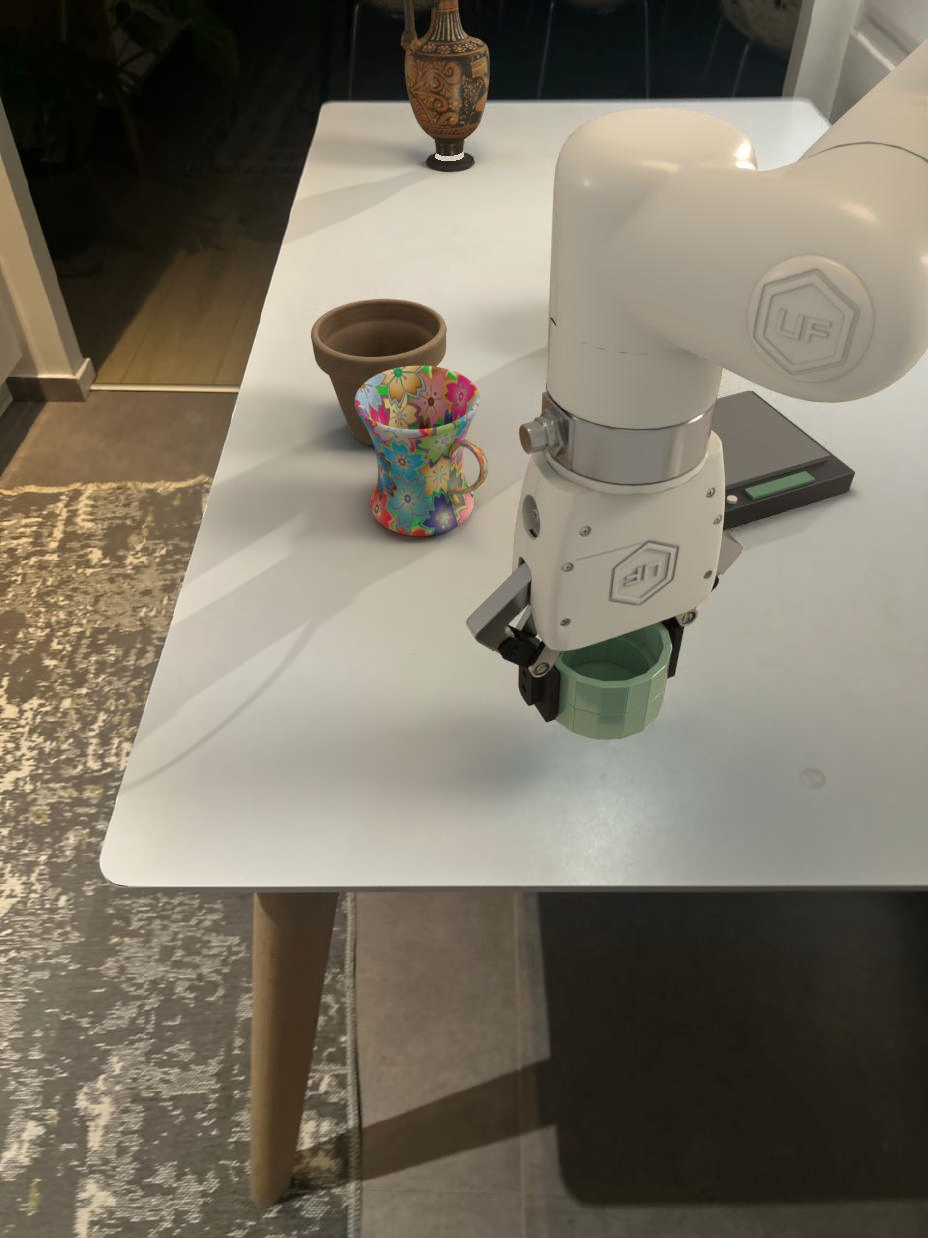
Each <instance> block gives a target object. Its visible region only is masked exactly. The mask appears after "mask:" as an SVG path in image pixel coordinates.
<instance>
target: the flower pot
mask: <svg viewBox="0 0 928 1238" xmlns="http://www.w3.org/2000/svg"><path fill="white" fill-rule="evenodd" d="M447 329H448V328H447V324H446V321H445V319H444V318H443V316H442V315H441V314H440V313H439V312H438V311H436V310H435V309H433V308H432V307H430V306H427V305H425V304H422V303H418V302H416V301H411V300H406V299H404V300H403V299H397V298H371V299H363V300H357V301H353V302H349V303H345V304H342V305H340V306H337V307H334V308H332V309H330V310H329V311H326V312H325V313H324V314H322V315H321V316H319V318H317V319H316V321H315V322H314V323H313V325H312V327H311V330H310V340H311V344H312V349H313V356H314V361H315V363H316V365H317V367H318V368H319V369H320V370H321V371H322V372H323V373H325V374H326V375H328V377H329V380H330V382H331V384H332V387H333V390H334V393H335V396H336V398H337V401H338V404H339V407H340V409H341V411H342V414H343V416H344V419H345V421H346V424H347V426H348V428H349V430H350V432H351V435H352V436H353V437H354V438H355V439H356V440H357V441H358V442H360V443H362V444H364V445H367V446H370V447H374V444H373V441H372V438H371V436H370V434H369V432H368V430H367V428H366V426H365V424H364V423H363V421H362V419H361V418H360V416H359V415H358V413H357V411H356V409H355V396H356V393H357V391H358V390H359V388H360V387H361V386H362V385H363V384H364V383H365V382H366V381H367V380H369V379H370V378H372V377H374V376H376V375H377V374H380V373H382V372H385V371H388V370H391V369H395V368H400V367H407V366H434V367H439V365H440V363H442V361H443V360H444V358H445V356H446V352H447V331H448V330H447Z"/></svg>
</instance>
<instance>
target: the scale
mask: <svg viewBox="0 0 928 1238" xmlns="http://www.w3.org/2000/svg"><path fill="white" fill-rule="evenodd" d="M711 430H712V431H713V432H715V433H716V434H717V435H718V437H719V438H720V440H721V442H722V449H723V460H724V472H725V508H724V522H723V530H724V531H726V530H728V529H732V528H734V527H738V526H741V525H744V524H748V523H750V522H755V521H757V520H760V519H763V518H767V517H770V516H773V515H776V514H780V513H783V512H786V511H789V510H792V509H797V508H799V507H802V506H806V505H810V504H812V503H816V502H819V501H822V500H826V499H828V498H832V497H835V496H838V495H841V494H844V493H847V492H849V491H850V489H851V486H852V484H853V481H854V477H855V475H856V471H855V470H854V469H852V468H851V467H850V466H848V465H847V464H846V463H845V462H844V461H842V460H841V459H840V458H838V457H837V456H836V455H835V454H834V453H832V452H831V451H830V450H828V449H827V448H826V447H825V446H824V445H822V444H821V443H820V442H819V441H817V440H815V438H813V436H811V435H810V434H809V433H807V432H805V430H803V429H802V428H800V427H799V426H798V425H797V424H795V423H794V422H793V421H792V420H790V419H789V418H788V417H787V416H785V414H783V413H782V412H780V411H779V410H778V409H777V408H776V407H774V406H773V405H772V404H770V403H769V402H768V401H766V400H765V399H764V398H763V397H762V396H760V395H759V394H758V393H756V392H755V391H753V390H745V391H741V392H737V393H734V394H729V395H725V396H722V397H719V398H718V397H717V402H716V408H715V413H714V419H713V424H712V429H711Z"/></svg>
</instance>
